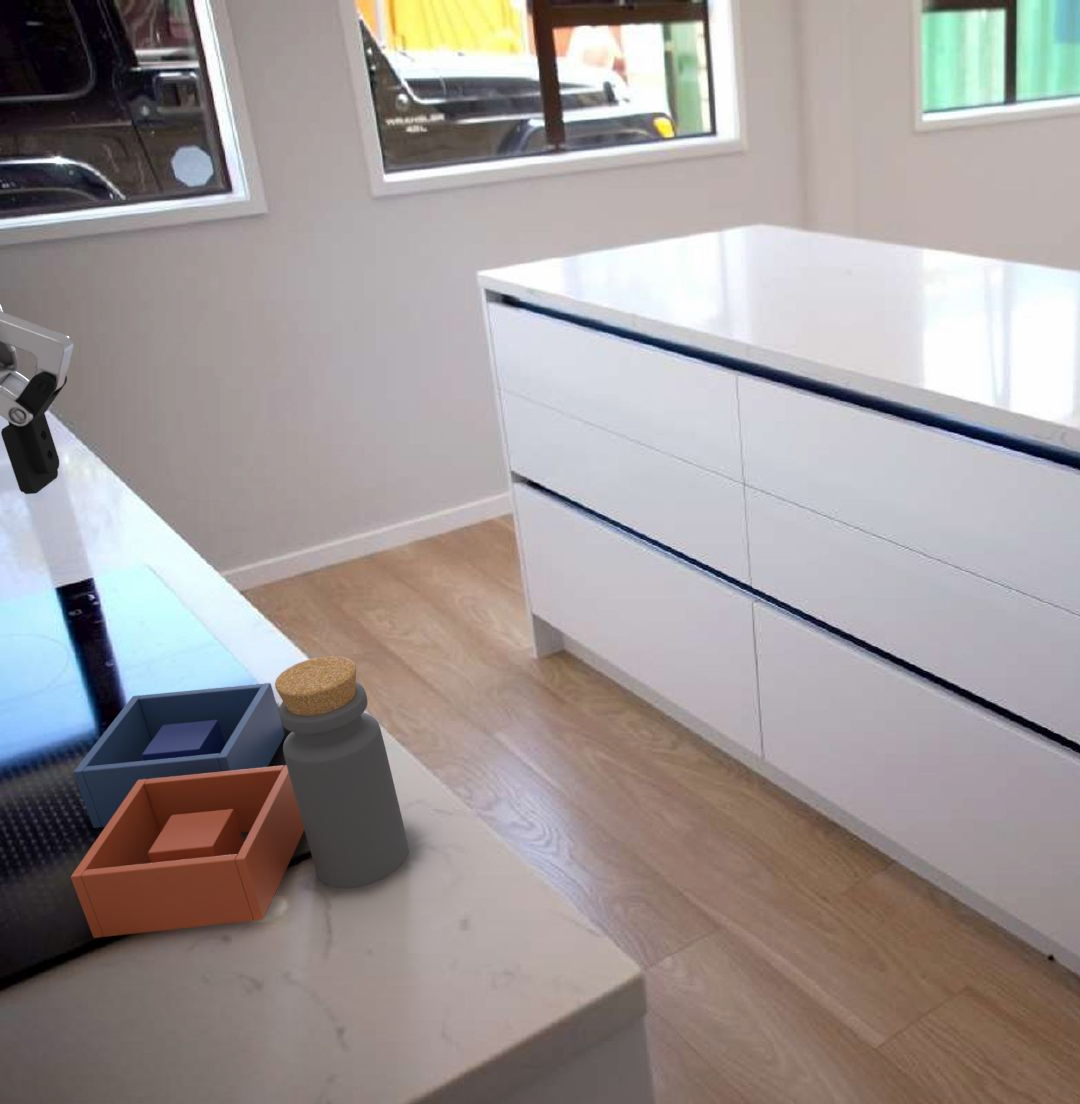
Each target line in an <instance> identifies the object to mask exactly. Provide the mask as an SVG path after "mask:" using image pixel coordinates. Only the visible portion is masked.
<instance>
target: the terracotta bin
mask: <svg viewBox="0 0 1080 1104" xmlns="http://www.w3.org/2000/svg"><path fill="white" fill-rule="evenodd" d="M227 809H233V810H234V813H235V816H236V820H237V823H238V826H239V829H240V833H241V834H242V833H248V834H247V836H246V838H245V840H244V841H243V843H244V844H243V846H242V848H241V849H240V851H239V853H238V855H237V854H233V855H224V856H214V857H205V858H195V859H185V860H176V861H166V862H157V863H151V860H150V857H149V855H148V852H149V850H150V849H151V847H152V845H153V844H154V842H155V841H156V839H157V837H158V836H159V834H160V833H161V831H162V829H163V828H164V826H165V825H166V823H167V822H168V820H169V818H170V817H171V816H172V815H178V814H188V813H198V812H207V811H217V810H227ZM304 832H305V830H304V827H303V823H302V820H301V816H300V813H299V809H298V805H297V802H296V798H295V794H294V791H293V787H292V783H291V780H290V776H289V772H288V769H287V765H286V764H285V765H273V766H268V767H263V768H253V769H243V770H233V771H223V772H213V773H203V774H193V775H183V776H173V777H163V778H153V779H142V780H138V781H137V782H136V784H135V785H134V786H133V788H132V789H131V791H130V792H129V794H128V795H127V797H126V798H125V799H124V801H123V802H122V804H121V805H120V807H119V808H118V809H117V811H116V812H115V814H114V815H113V817H112V818H111V820H110V821H109V822H108V824H107V825H106V827H103V830H102V831H101V833H100V834H99V836H98V837H97V838H96V839H95V841H94V842H93V844H92V845H91V847H90V848H89V849H88V851H87V852H86V854H85V855H84V857H83V858H82V860H81V861H80V862H79V864H78V866H77V867H76V868H75V870H74V871H73V873H72V874H71V876H70V880H71V882H72V885H73V887H74V890H75V892H76V895H77V898H78V901H79V903H80V906H81V909H82V911H83V914H84V917H85V919H86V922H87V925H88V927H89V930H90V932H91V934H92V937H93V939H97V938H104V937H105V938H106V937H115V936H124V935H134V934H143V933H152V932H160V931H161V932H162V931H169V930H178V929H187V928H197V927H207V926H208V927H209V926H215V925H225V924H234V923H242V922H243V923H244V922H252V921H263V920H264V919H265V917H266V914H267V912H268V910H269V908H270V906H271V904H272V901H273V899H274V897H275V895H276V893H277V891H278V888H279V886H280V884H281V882H282V880H283V877H284V875H285V873H286V870H287V869H288V866H289V864H290V863H291V860H292V858H293V856H294V853H295V851H296V849H297V847H298V845H299V842H300V840H301V838H302V836H303V834H304Z"/></svg>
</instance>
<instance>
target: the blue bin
mask: <svg viewBox="0 0 1080 1104" xmlns="http://www.w3.org/2000/svg"><path fill="white" fill-rule="evenodd" d="M210 720H218V722H219V725H220V729H221V732H222V735H223V739H224V742H225V747H224V748H223V750H222V752H221V753H220V754H219V753H218V754H208V755H198V756H188V757H178V758H168V759H158V760H148V761H144V760H143V757H142V754H143V752H144V751H145V749H146V748H147V747H148V745H149V744H150V742H151V741H152V740H153V738H154V737H155V735H156V734H157V733H158V731H159V730H160V728H161V727H162V726H163V725H169V724H179V723H189V722H200V721H210ZM284 730H285V729H284V726H283V725H282V722H281V719H280V715H279V707H278V705H277V702H276V697H275V694H274V690H273V686H272V683H271V682H265V683H255V684H254V683H253V684H244V685H235V686H224V687H223V686H222V687H213V688H203V689H201V688H200V689H192V690H184V691H171V692H162V693H160V692H159V693H151V694H149V693H148V694H141V695H140V694H139V695H133V696H131V698H130V699H129V700H128V701H127V702H126V704H125V706H123V708H122V709H121V711H120V712H119V713H118V714H117V715H116V717H115V718H114V719H113V721H112V722H111V723H110V724H109V726H108V727H107V729H105V731H104V732H103V733H102V734H101V736H100V738H99V739H98V740H97V741H96V742H95V743H94V745H93V746H92V747H91V749H90V750H89V751H88V752H87V754H86V755H85V757H84V758H83V759H82V760H81V761H80V763H78V766H77V767H76V768H75V769H74V770H73V775H74V778H75V781H76V784H77V786H78V789H79V792H80V794H81V798H82V800H83V803H84V806H85V809H86V812H87V814H88V817H89V819H90V822H91V825H92V828H93V829H96V828H97V829H98V828H105V827H106V825H107V824H108V822H109V821H110V820H111V818H112V817H113V815H114V814H115V812H116V811H117V809H118V808H119V807H120V805H121V804H122V802H123V801H124V799H125V798H126V797H127V795H128V794H129V792H130V791H131V789H132V788H133V786H134V785H135V784H136V782H137V781H138V780H142V779H153V778H163V777H173V776H183V775H193V774H203V773H213V772H223V771H233V770H243V769H253V768H263V767H269V765H270V763H271V761H272V759H273V758H274V757H275V754H276V752H277V750H278V748H279V747H280V745H281V744H282V741H283V739H284V737H285V736H286V735H285V731H284Z"/></svg>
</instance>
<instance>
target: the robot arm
mask: <svg viewBox="0 0 1080 1104" xmlns="http://www.w3.org/2000/svg"><path fill="white" fill-rule="evenodd" d="M74 348H75V347H74V341H73V339H72V338H71V337H70V336H68V335H66V334H63V333H61V332H58V331H56V330H53V329H51V328H48V327H45V326H42V325H39V324H37V323H33V322H31V321H29V320H27V319H26V320H25V319H23V318H20V317H18V316H15V315H12V314H9V313H6V312H4V310H3V308H2V305H1V304H0V416H1V417H2V418H3V419H5V420H6V421H7V423H8V424H7V425H6V426H4V427H2V429H1V431H0V434H1V439H2V442H3V444H4V447H5V450H6V454H7V456H8V458H9V462H10V466H11V467H12V471H13V475H14V477H15V480H16V483H17V485H18V488H19V491H20V492H21V493H23V494H25V495H33V494H38V493H39V492H41V490H43V489H44V488H45V487H47V486H49V485H50V484H51V483H52V482H53V481H55V480H56V479H57V478H58V476H59V468H60V458H59V454H58V451H57V448H56V445H55V442H54V439H53V436H52V433H51V429H50V426H49V422H48V420H47V416H46V414H45V413H46V412H48V411H49V410H51V408H52V406H53V402H54V401H55V400H56V398H57V397H58V395H59V394H60V392H61V391H62V390H63V388H64V387H65V386H66V384H67V382H68V377H67V371H69V368H70V364H71V359H72V356H73V352H74ZM16 349H20V350H22V351H25V352H27V353H29V354H31V355H32V356H33V357H34V358H35V366H34V368H35V372H34V375H33V376H32V377H31V378H30V380H29V379H28V378H26V377H25V376H24V375H22V374H21V373H20V372H18V371H17V370H18V367H19V359H18V353H17V350H16Z"/></svg>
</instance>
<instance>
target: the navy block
mask: <svg viewBox="0 0 1080 1104" xmlns="http://www.w3.org/2000/svg"><path fill="white" fill-rule="evenodd" d="M225 745H226V744H225V742H224V739H223V735H222V732H221V729H220V725H219V722H218V720H210V721H200V722H189V723H179V724H169V725H163V726H162V727H161V728H160V730H159V731H158V733H157V734H156V735H155V737H154V738H153V740H152V741H151V742H150V744H149V745H148V747H147V748H146V749H145V751H144V752H143V754H142V757H143V760H144V761H148V760H158V759H168V758H178V757H188V756H198V755H208V754H218V753H219V754H220V753H221V752H222V750H223V748H224V747H225Z"/></svg>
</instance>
